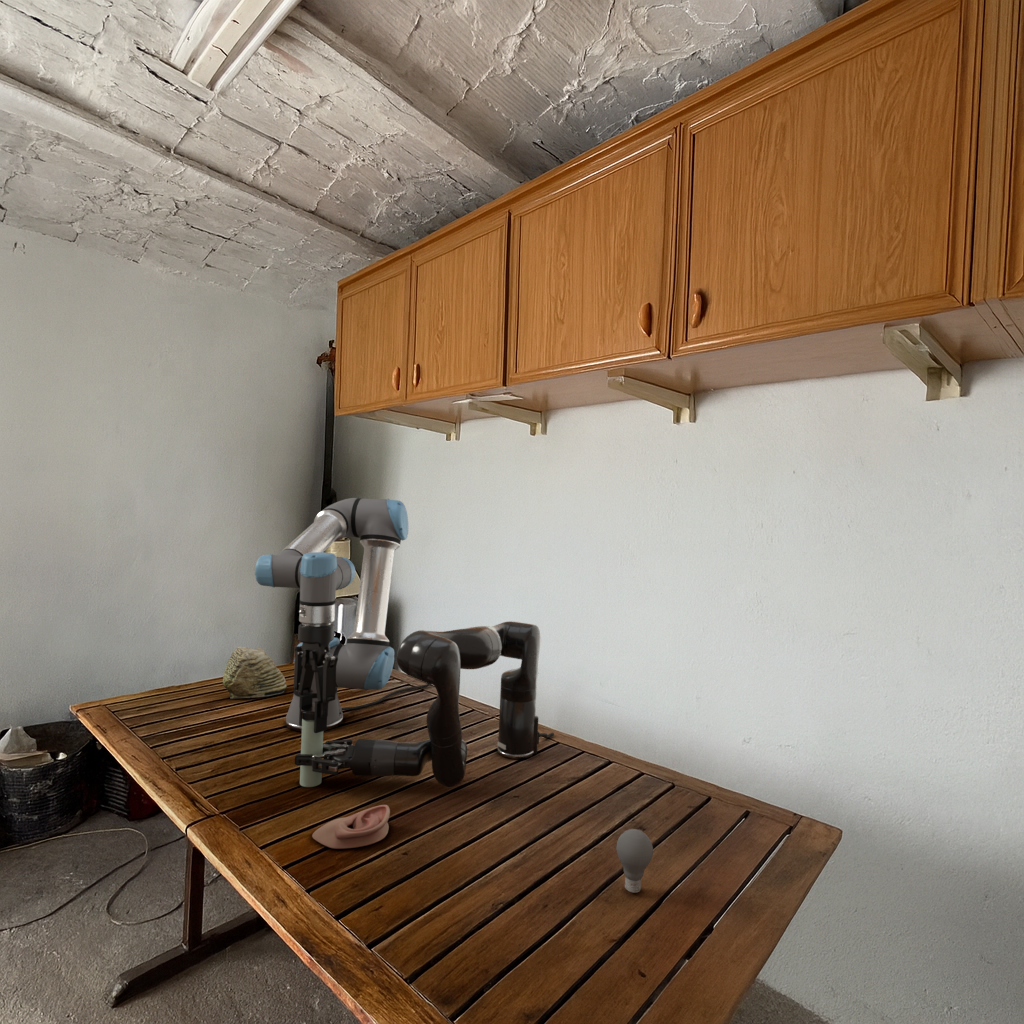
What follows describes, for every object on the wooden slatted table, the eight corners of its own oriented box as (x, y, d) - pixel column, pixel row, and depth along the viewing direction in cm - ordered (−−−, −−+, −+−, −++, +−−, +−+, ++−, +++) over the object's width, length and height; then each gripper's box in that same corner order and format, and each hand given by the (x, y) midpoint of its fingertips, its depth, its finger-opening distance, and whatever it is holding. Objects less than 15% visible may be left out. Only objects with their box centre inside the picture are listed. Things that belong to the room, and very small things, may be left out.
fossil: (218, 695, 195) (220, 647, 195) (278, 685, 208) (279, 640, 207) (228, 703, 189) (230, 653, 188) (289, 692, 201) (290, 645, 201)
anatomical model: (304, 822, 115) (334, 794, 126) (303, 844, 115) (333, 813, 126) (372, 833, 112) (397, 803, 124) (371, 855, 113) (396, 823, 124)
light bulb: (610, 879, 108) (613, 822, 108) (644, 879, 109) (647, 822, 109) (619, 902, 102) (622, 840, 102) (655, 901, 103) (658, 840, 103)
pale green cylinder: (314, 788, 137) (317, 714, 137) (295, 785, 138) (298, 712, 138) (325, 779, 142) (328, 708, 142) (306, 776, 143) (309, 705, 143)
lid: (328, 718, 139) (328, 709, 139) (303, 722, 136) (303, 713, 136) (322, 711, 143) (323, 702, 143) (298, 714, 141) (298, 705, 141)
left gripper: (279, 618, 142) (275, 721, 143) (325, 632, 131) (321, 743, 131) (308, 614, 148) (304, 713, 149) (355, 627, 137) (351, 734, 137)
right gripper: (383, 729, 147) (309, 726, 147) (370, 753, 133) (288, 750, 133) (382, 761, 147) (308, 758, 147) (368, 789, 133) (287, 786, 133)
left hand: (312, 727), depth 140 cm, fingers closed on lid, 5 cm apart
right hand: (299, 754), depth 140 cm, fingers closed on pale green cylinder, 4 cm apart
